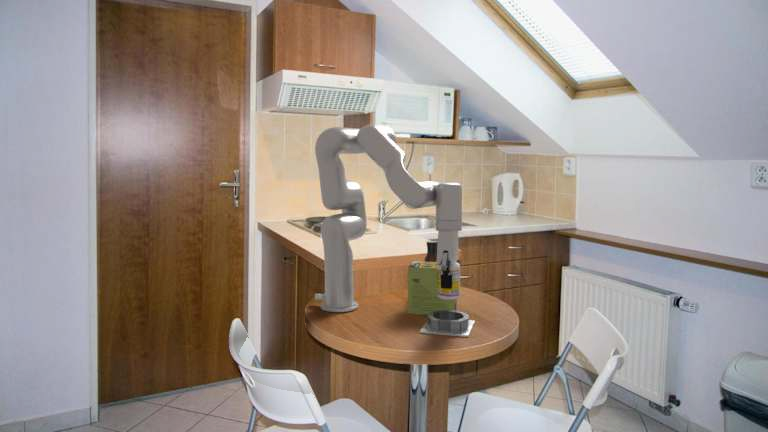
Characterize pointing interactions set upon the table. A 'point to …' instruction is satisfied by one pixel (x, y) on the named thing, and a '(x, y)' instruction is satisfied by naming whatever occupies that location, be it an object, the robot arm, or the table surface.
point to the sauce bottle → (431, 251)
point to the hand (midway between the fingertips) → (448, 284)
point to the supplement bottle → (455, 289)
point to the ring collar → (448, 323)
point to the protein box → (425, 289)
